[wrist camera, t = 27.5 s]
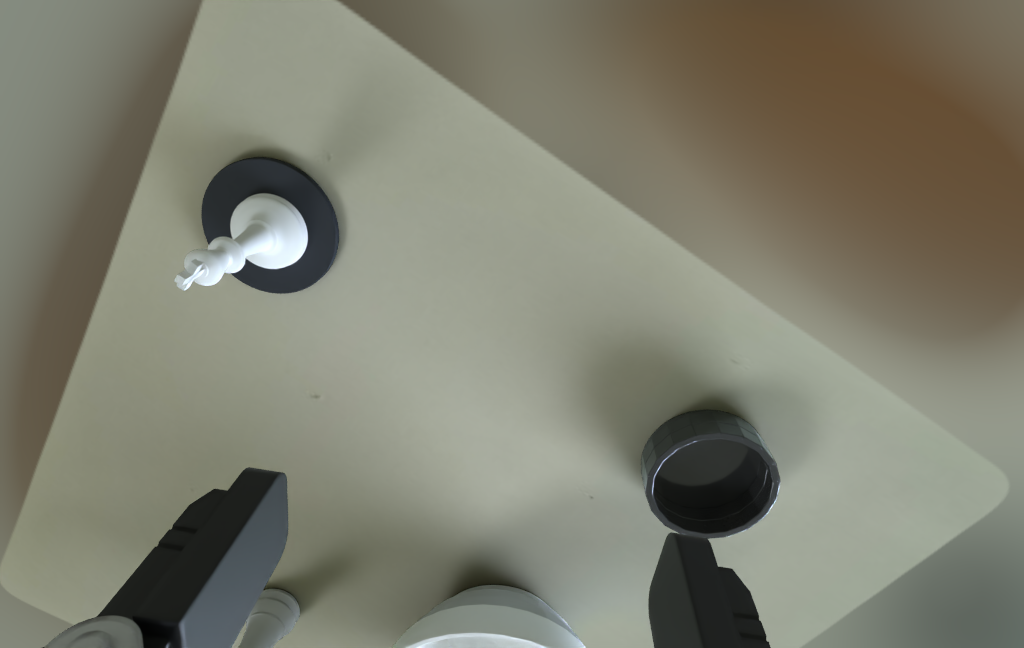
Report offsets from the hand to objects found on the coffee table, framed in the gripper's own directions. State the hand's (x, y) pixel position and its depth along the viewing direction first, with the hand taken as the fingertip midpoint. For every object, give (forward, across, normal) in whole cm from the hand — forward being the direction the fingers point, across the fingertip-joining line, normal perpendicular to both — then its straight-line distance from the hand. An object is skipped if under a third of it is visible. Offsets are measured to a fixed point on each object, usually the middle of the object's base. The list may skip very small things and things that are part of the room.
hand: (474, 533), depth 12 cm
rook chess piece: (+27, -17, -38) cm, 50 cm away
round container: (+27, +16, -16) cm, 35 cm away
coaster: (+28, -17, -3) cm, 32 cm away
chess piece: (+27, -16, -3) cm, 32 cm away
